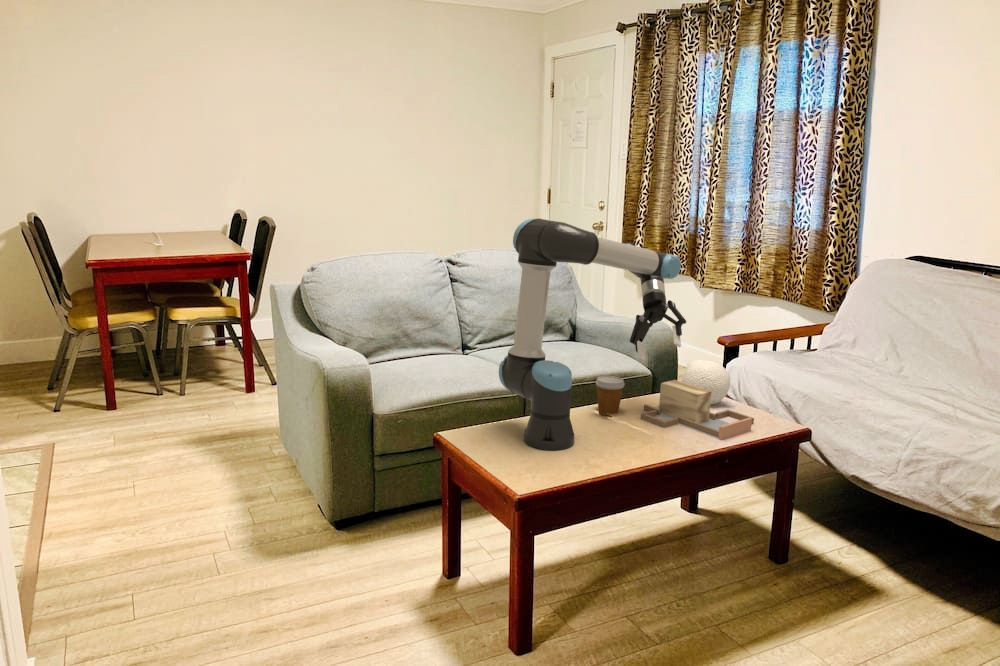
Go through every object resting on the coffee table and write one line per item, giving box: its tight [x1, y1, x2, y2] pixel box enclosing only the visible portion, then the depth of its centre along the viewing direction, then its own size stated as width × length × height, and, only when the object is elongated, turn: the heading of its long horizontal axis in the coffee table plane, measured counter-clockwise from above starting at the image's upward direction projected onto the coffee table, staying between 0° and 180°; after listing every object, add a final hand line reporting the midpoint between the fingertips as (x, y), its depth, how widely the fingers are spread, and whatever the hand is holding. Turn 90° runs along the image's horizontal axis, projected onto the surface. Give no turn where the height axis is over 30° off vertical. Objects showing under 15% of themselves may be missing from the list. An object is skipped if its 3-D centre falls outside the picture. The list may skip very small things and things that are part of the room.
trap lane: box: [639, 404, 755, 441], centre depth 247 cm, size 28×32×5 cm
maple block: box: [658, 379, 712, 424], centre depth 250 cm, size 7×15×10 cm, turn 37°
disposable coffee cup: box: [595, 375, 626, 418], centre depth 253 cm, size 10×10×12 cm
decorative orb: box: [681, 359, 731, 406], centre depth 266 cm, size 20×18×16 cm
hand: (659, 352), depth 241 cm, fingers open, 13 cm apart
